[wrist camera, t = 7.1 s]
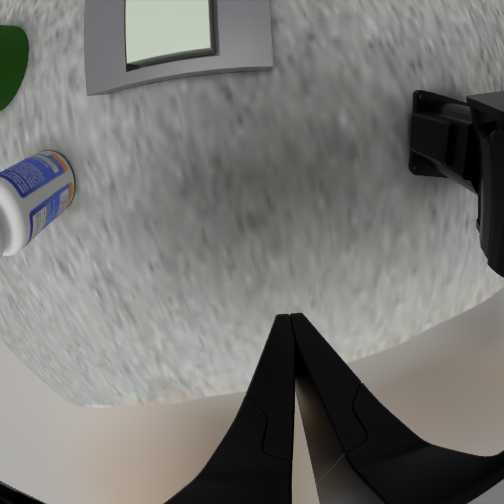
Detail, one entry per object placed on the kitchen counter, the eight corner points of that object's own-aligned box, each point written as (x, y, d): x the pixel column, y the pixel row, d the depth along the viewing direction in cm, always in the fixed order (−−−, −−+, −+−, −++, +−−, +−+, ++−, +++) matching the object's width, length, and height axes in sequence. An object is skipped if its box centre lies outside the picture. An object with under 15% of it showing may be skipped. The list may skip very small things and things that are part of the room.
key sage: (212, -8, 11) (207, -22, 9) (215, 54, 13) (210, 47, 11) (139, 5, 11) (125, -4, 9) (141, 66, 13) (127, 63, 11)
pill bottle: (23, 161, 17) (-58, 211, 8) (65, 139, 16) (-28, 185, 8) (42, 217, 19) (-26, 283, 11) (85, 203, 19) (11, 276, 11)
